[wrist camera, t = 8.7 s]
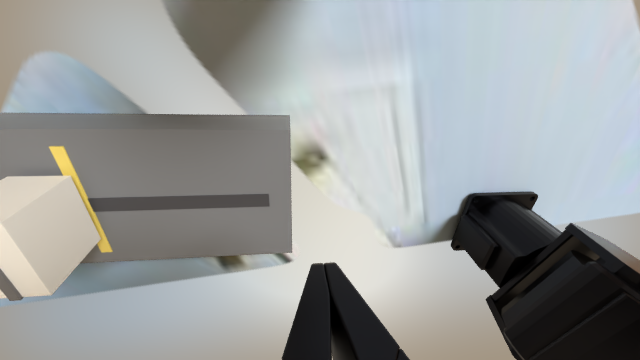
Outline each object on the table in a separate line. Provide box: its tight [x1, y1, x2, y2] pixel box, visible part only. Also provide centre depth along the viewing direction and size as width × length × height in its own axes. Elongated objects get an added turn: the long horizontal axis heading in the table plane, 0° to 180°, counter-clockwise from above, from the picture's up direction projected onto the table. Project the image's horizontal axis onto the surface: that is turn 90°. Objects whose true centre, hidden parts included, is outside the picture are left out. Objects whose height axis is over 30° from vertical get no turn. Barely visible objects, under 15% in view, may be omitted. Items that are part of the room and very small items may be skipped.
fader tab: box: [0, 176, 101, 301], centre depth 14 cm, size 3×5×4 cm, turn 177°
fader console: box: [0, 113, 292, 263], centre depth 19 cm, size 18×10×3 cm, turn 87°
